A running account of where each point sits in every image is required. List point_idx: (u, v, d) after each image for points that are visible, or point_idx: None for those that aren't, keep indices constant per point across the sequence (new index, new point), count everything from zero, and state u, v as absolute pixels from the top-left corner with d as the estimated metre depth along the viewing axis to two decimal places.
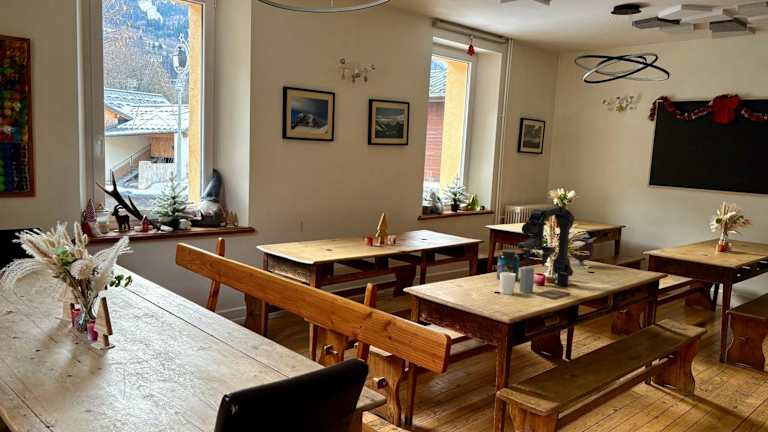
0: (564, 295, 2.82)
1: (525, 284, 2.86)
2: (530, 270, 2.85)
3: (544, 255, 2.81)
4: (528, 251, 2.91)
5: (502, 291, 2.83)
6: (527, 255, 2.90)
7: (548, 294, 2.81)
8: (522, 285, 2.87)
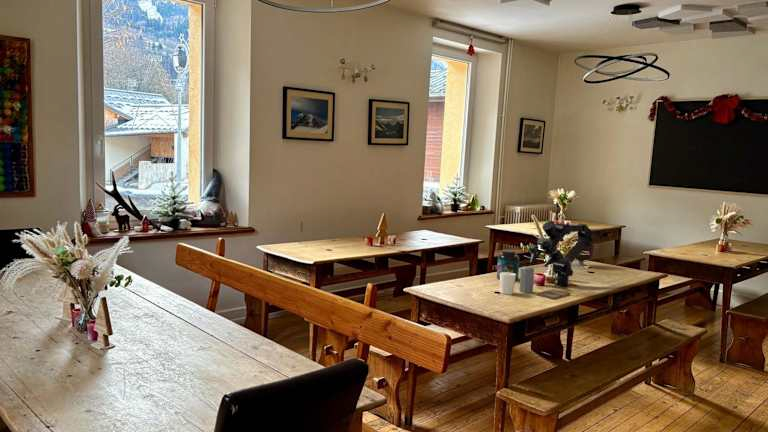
0: (564, 295, 2.82)
1: (525, 284, 2.86)
2: (530, 270, 2.85)
3: (551, 256, 2.89)
4: (536, 255, 2.99)
5: (502, 291, 2.83)
6: (533, 257, 2.98)
7: (548, 294, 2.81)
8: (522, 285, 2.87)
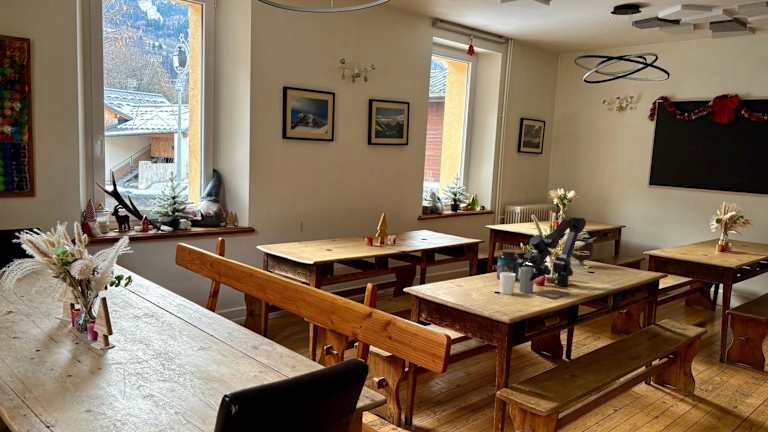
0: (564, 295, 2.82)
1: (525, 284, 2.86)
2: (530, 270, 2.85)
3: (536, 270, 2.85)
4: None
5: (502, 291, 2.83)
6: None
7: (548, 294, 2.81)
8: (522, 285, 2.87)
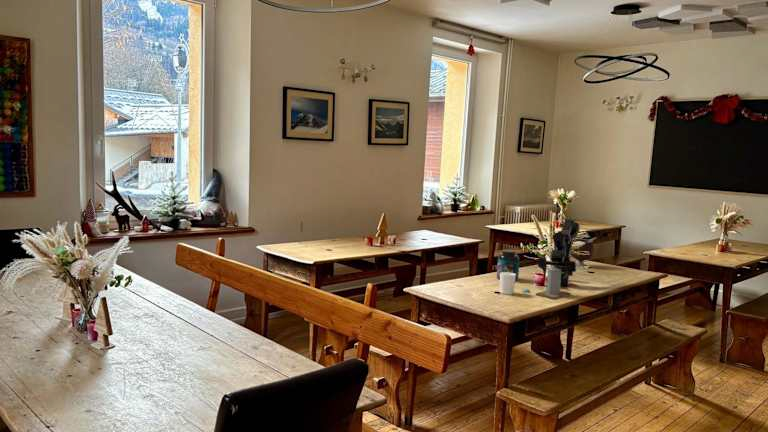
0: (564, 295, 2.82)
1: (555, 285, 2.81)
2: (560, 271, 2.81)
3: (568, 268, 2.81)
4: None
5: (502, 291, 2.83)
6: (545, 270, 2.86)
7: (548, 294, 2.81)
8: (552, 287, 2.81)
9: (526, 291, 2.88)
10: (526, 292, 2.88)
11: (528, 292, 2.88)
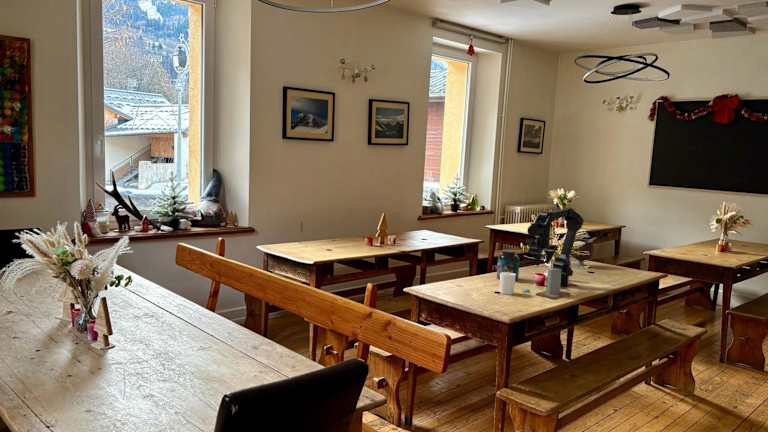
0: (564, 295, 2.82)
1: (555, 285, 2.81)
2: (560, 271, 2.81)
3: None
4: (549, 253, 2.97)
5: (502, 291, 2.83)
6: (547, 256, 2.98)
7: (548, 294, 2.81)
8: (552, 287, 2.81)
9: (526, 291, 2.88)
10: (526, 292, 2.88)
11: (528, 292, 2.88)
